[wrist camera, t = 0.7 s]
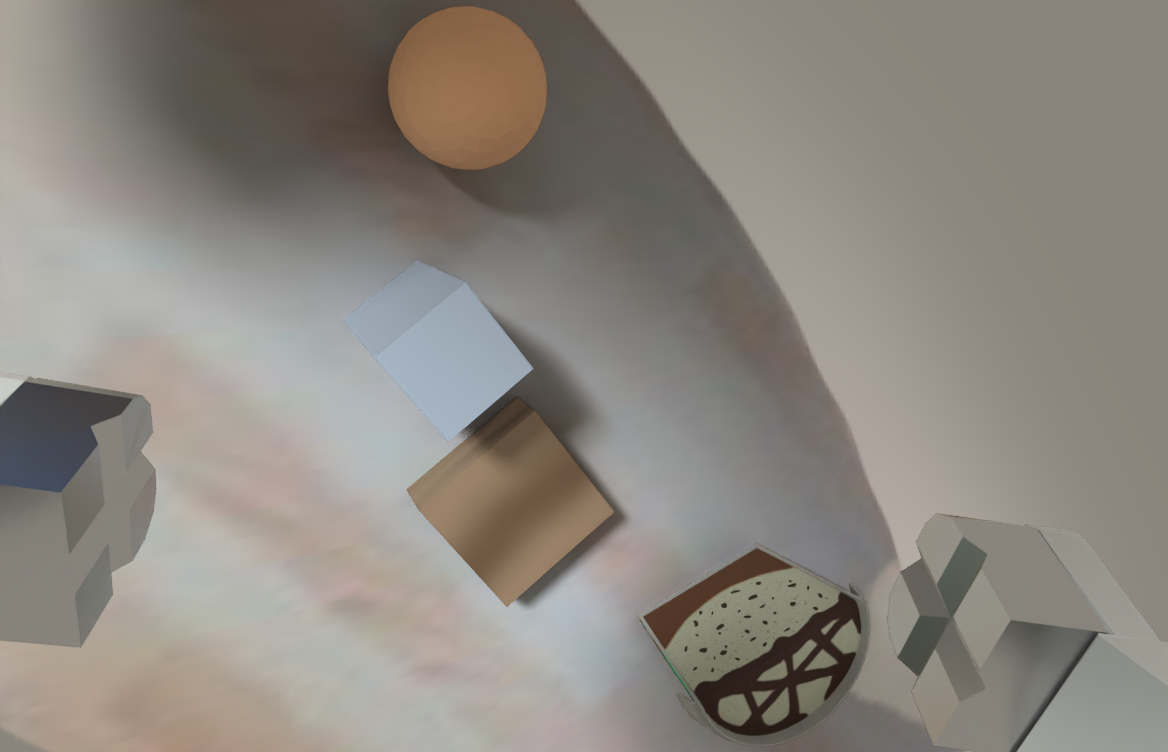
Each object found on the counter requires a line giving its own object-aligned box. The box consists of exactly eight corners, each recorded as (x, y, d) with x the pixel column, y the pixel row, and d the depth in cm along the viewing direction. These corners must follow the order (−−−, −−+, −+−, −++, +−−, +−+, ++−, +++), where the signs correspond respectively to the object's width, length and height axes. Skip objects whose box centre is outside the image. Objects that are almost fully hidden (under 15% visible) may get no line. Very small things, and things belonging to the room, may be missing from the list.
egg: (411, -10, 44) (453, -46, 37) (539, 66, 47) (602, 47, 40) (351, 127, 45) (380, 119, 37) (481, 194, 48) (533, 199, 40)
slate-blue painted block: (342, 320, 46) (373, 358, 37) (417, 259, 47) (465, 282, 38) (403, 390, 48) (447, 442, 39) (474, 331, 49) (533, 368, 40)
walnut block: (405, 487, 50) (418, 509, 47) (515, 395, 51) (535, 410, 48) (489, 580, 53) (506, 607, 50) (591, 491, 54) (614, 511, 51)
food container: (649, 700, 59) (727, 796, 50) (617, 627, 57) (694, 714, 48) (799, 604, 62) (898, 679, 53) (774, 532, 60) (874, 597, 51)
